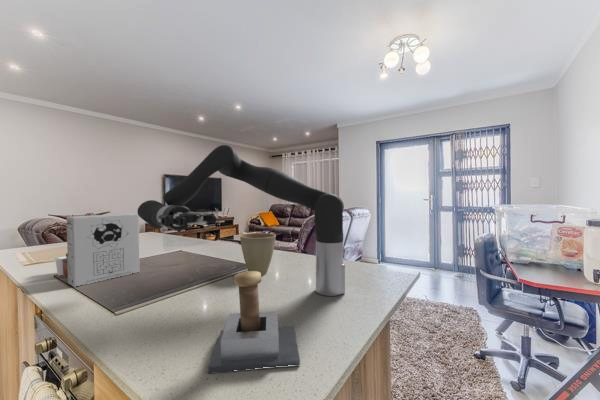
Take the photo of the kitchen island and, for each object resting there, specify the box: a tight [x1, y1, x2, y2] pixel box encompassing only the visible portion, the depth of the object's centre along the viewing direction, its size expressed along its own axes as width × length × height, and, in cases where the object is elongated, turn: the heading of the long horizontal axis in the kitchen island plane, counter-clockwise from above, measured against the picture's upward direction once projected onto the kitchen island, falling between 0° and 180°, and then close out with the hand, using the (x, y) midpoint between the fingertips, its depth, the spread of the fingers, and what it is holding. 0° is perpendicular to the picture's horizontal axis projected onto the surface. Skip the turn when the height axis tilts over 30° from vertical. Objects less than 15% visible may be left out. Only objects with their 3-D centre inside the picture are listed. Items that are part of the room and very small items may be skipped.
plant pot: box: [239, 232, 277, 276], centre depth 109 cm, size 15×15×16 cm
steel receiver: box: [207, 310, 301, 374], centre depth 55 cm, size 17×13×5 cm
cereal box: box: [66, 212, 141, 288], centre depth 103 cm, size 22×8×25 cm, turn 145°
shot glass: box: [55, 255, 67, 276], centre depth 108 cm, size 7×7×7 cm
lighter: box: [62, 252, 68, 279], centre depth 106 cm, size 8×3×10 cm, turn 168°
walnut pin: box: [233, 270, 262, 332], centre depth 55 cm, size 6×6×14 cm
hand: (200, 220), depth 69 cm, fingers open, 8 cm apart
